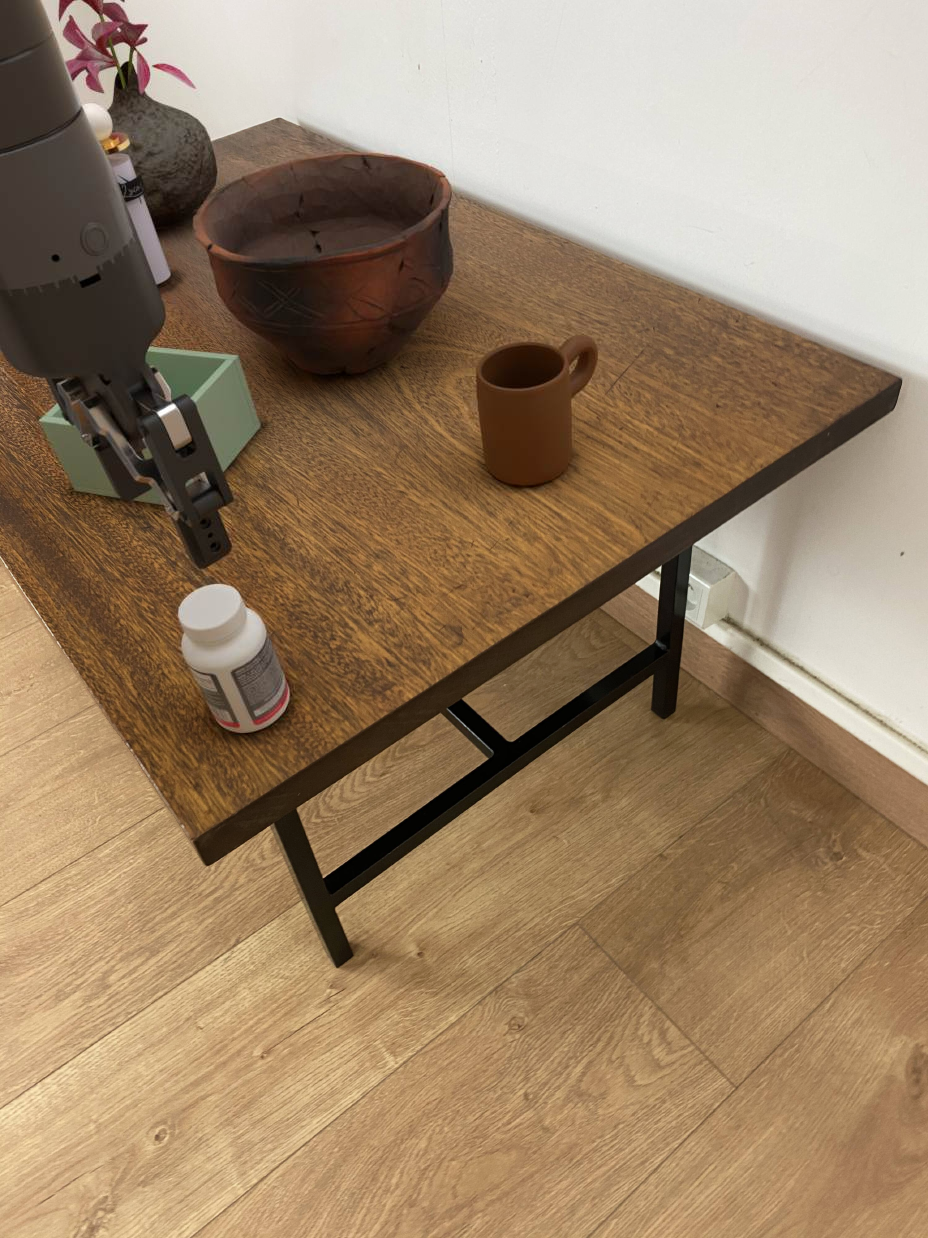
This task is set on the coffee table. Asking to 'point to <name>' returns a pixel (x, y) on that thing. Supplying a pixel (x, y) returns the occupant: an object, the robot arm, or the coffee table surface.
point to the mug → (531, 406)
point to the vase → (146, 118)
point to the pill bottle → (232, 659)
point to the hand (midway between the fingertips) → (174, 524)
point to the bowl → (331, 255)
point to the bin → (186, 372)
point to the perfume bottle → (129, 187)
